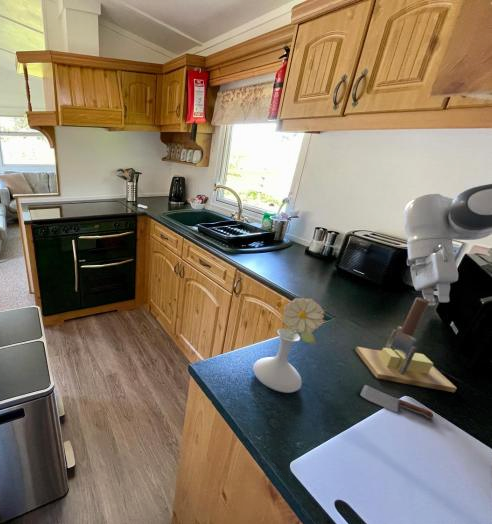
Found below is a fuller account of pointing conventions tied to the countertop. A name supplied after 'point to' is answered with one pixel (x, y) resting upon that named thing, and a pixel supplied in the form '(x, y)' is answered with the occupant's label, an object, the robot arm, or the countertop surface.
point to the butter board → (403, 369)
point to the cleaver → (392, 402)
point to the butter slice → (389, 357)
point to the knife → (410, 327)
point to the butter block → (415, 363)
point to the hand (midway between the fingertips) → (436, 304)
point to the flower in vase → (290, 345)
